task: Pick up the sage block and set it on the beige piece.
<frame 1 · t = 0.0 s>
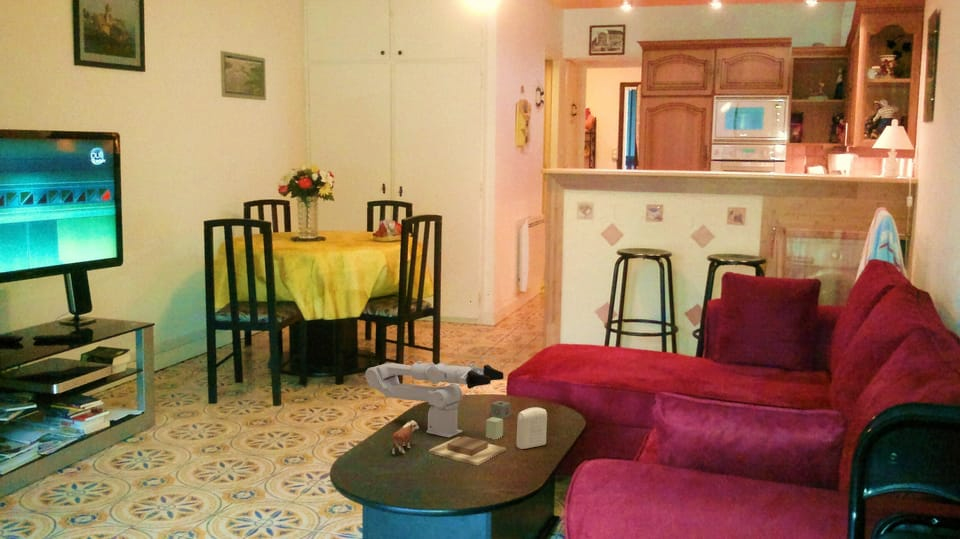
hand: (496, 378, 273), 22 cm above the table, tool horizontal, fingers open, 7 cm apart
bull figurine: (404, 450, 270), on the table
sage block: (494, 437, 283), on the table
dice cube: (500, 417, 306), on the table
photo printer: (531, 446, 276), on the table
beige piece: (467, 452, 269), on the table
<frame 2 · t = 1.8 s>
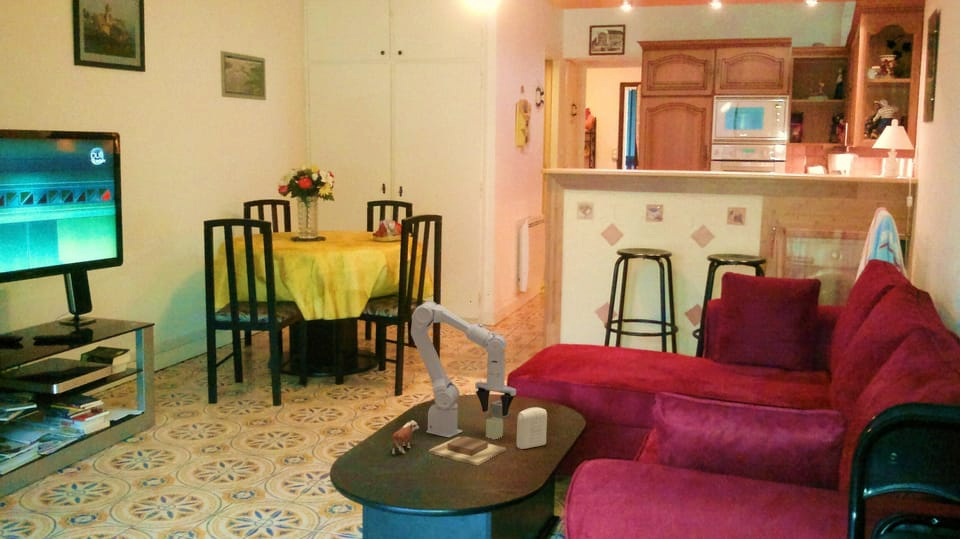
hand: (495, 413, 282), 8 cm above the table, tool pointing down, fingers open, 7 cm apart
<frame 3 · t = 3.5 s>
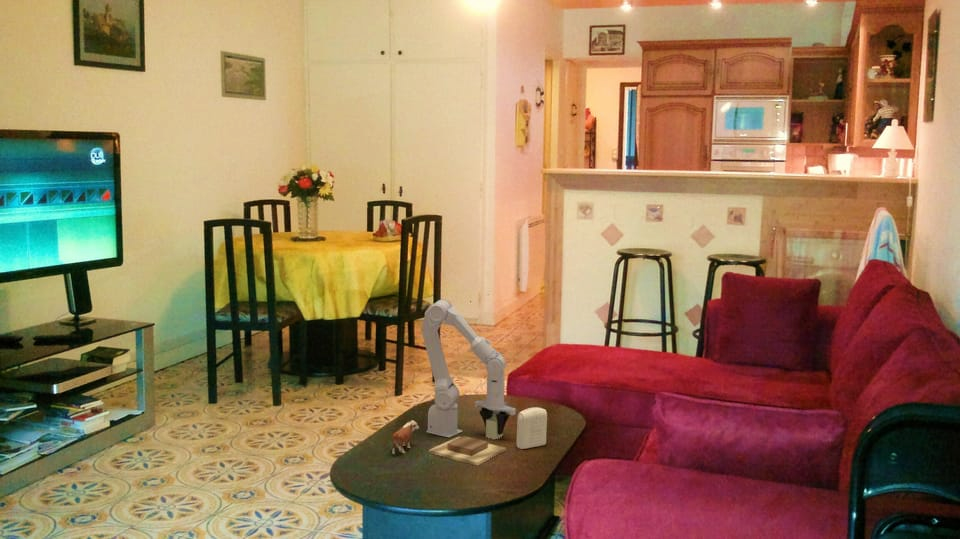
hand: (494, 432, 283), 2 cm above the table, tool pointing down, fingers closed on sage block, 4 cm apart
sage block: (494, 437, 283), on the table, touching gripper
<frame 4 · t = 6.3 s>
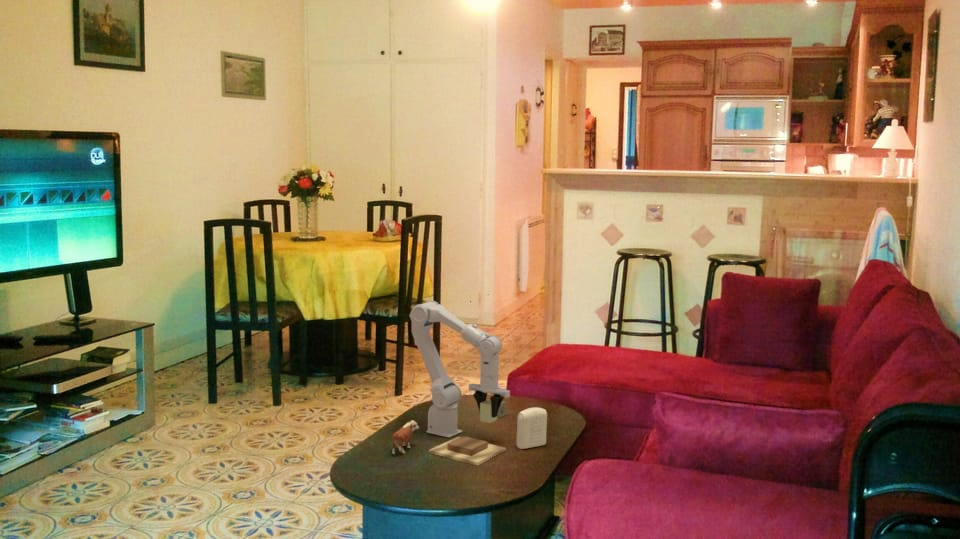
hand: (488, 415, 279), 8 cm above the table, tool pointing down, fingers closed on sage block, 4 cm apart
sage block: (488, 420, 279), point 7 cm above the table, touching gripper
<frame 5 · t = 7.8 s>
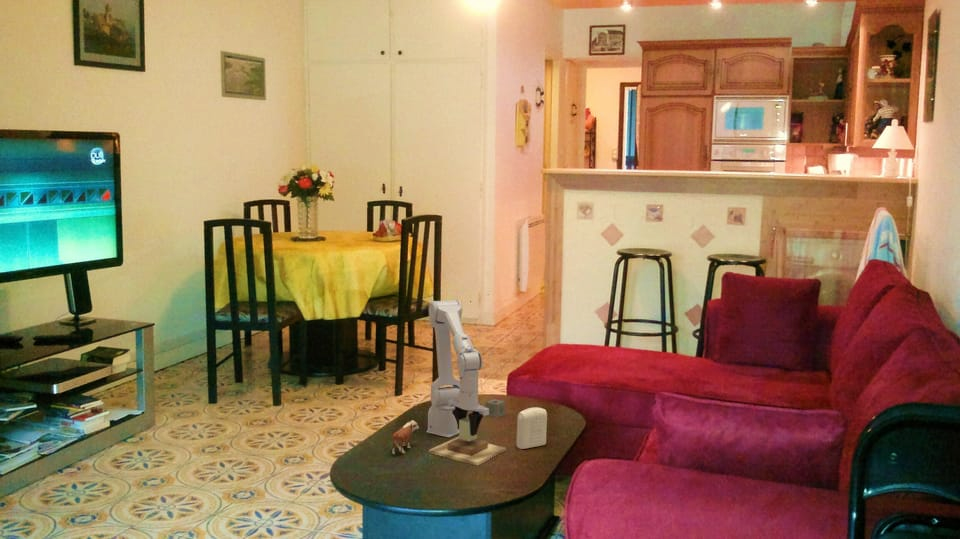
hand: (467, 433, 268), 6 cm above the table, tool pointing down, fingers closed on sage block, 4 cm apart
sage block: (468, 438, 268), point 4 cm above the table, touching gripper
when the fingers open (6 cm above the table, at t = 8.9 s): sage block drops 1 cm, resting on beige piece.
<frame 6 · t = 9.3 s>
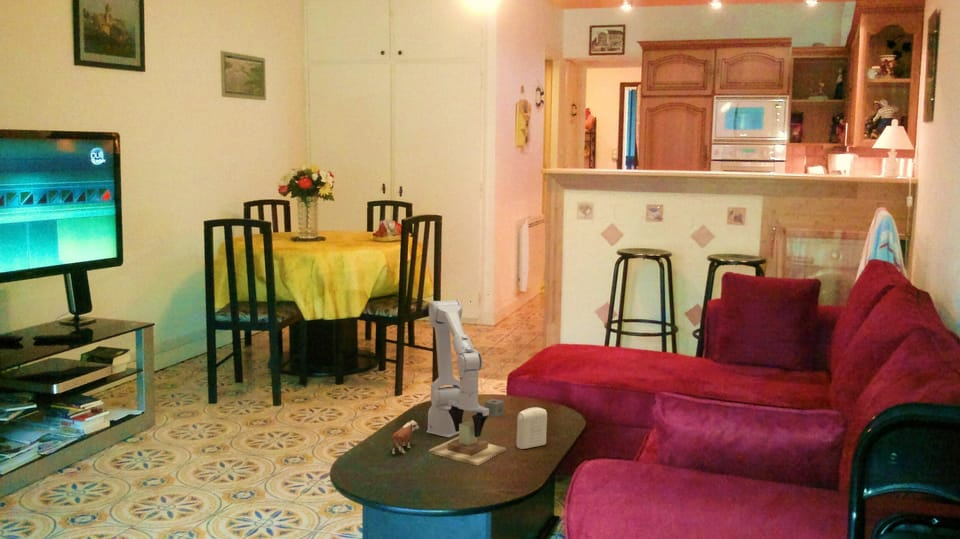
hand: (467, 433, 268), 6 cm above the table, tool pointing down, fingers open, 7 cm apart
sage block: (467, 442, 269), point 3 cm above the table, touching beige piece
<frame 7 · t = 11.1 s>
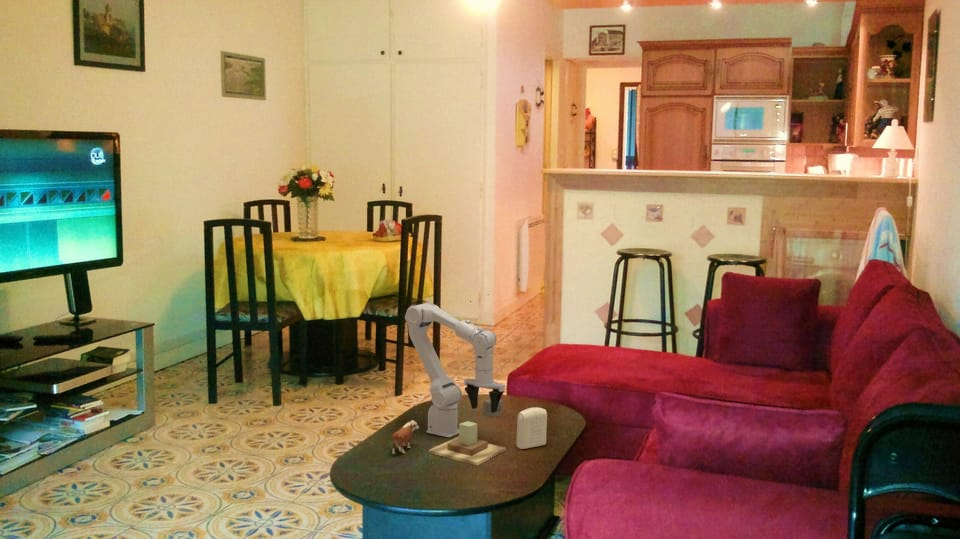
hand: (484, 410, 278), 10 cm above the table, tool pointing down, fingers open, 7 cm apart
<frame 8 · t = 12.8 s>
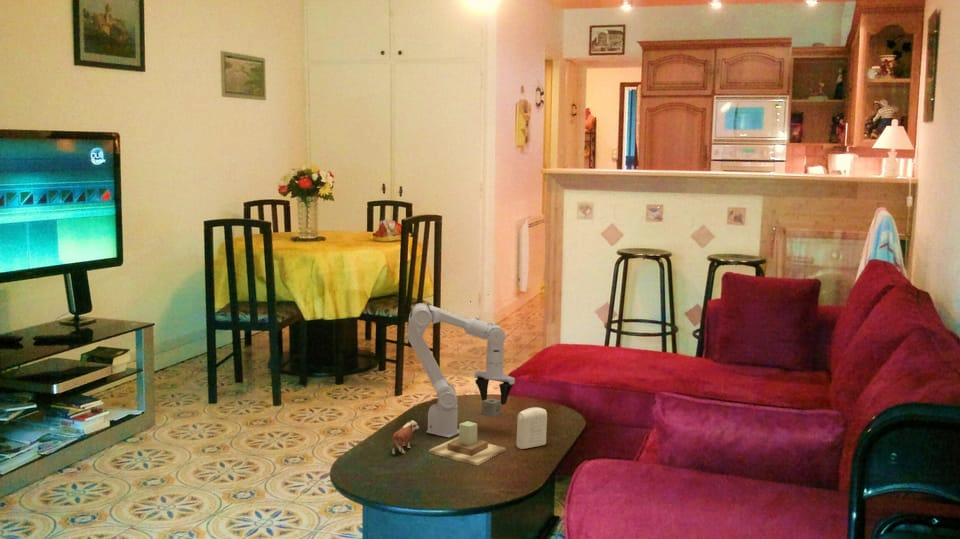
hand: (493, 401, 287), 10 cm above the table, tool pointing down, fingers open, 7 cm apart
at the end: sage block 0.1 cm off-centre on the beige piece, point 3.0 cm above the beige piece's base; sage block tilted 0°; the gripper is holding nothing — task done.
